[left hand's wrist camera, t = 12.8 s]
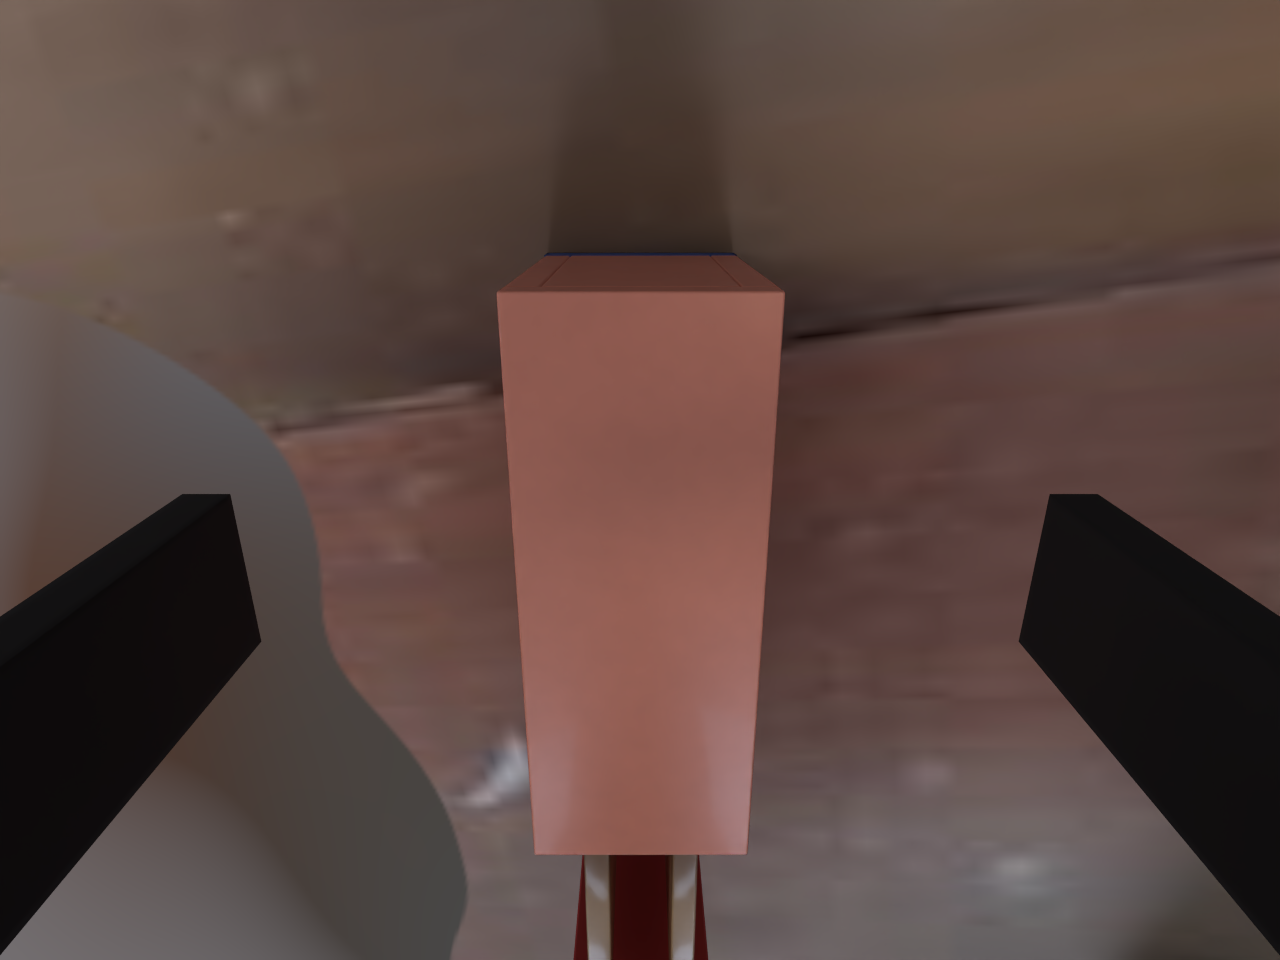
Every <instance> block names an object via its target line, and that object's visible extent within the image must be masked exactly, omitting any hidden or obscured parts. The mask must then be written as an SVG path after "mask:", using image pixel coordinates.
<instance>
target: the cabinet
mask: <svg viewBox="0 0 1280 960" xmlns="http://www.w3.org/2000/svg"><path fill="white" fill-rule="evenodd" d="M784 303H785V292H784V291H783V290H782V289H780V288H779V287H778V286H776V285H775V284H774V283H772V282H771V281H770V280H768V279H767V278H765V277H764V276H763V275H761V274H760V273H759V272H757V271H756V270H755V269H753V268H752V267H751V266H749V265H748V264H746V263H745V262H744V261H742V260H741V259H740V258H738V257H737V255H736V254H734V253H547V254H546V255H544V258H542V259H541V260H540V261H538V262H537V263H536V264H534V265H533V266H532V267H530V268H529V269H528V270H526V271H525V272H524V273H522V274H521V275H520V276H518V277H517V278H516V279H514V280H513V281H512V282H510V283H509V284H508V285H506V286H505V287H503V288H502V289H500V290H499V291H498V292H497V308H498V323H499V338H500V352H501V367H502V382H503V397H504V411H505V426H506V441H507V456H508V470H509V485H510V500H511V515H512V529H513V544H514V559H515V574H516V588H517V603H518V618H519V633H520V647H521V662H522V677H523V692H524V706H525V721H526V736H527V751H528V765H529V780H530V795H531V810H532V824H533V839H534V853H535V855H746V854H747V853H748V838H749V823H750V808H751V793H752V779H753V764H754V749H755V734H756V719H757V704H758V689H759V674H760V660H761V645H762V630H763V615H764V600H765V585H766V570H767V556H768V541H769V526H770V511H771V496H772V481H773V466H774V452H775V437H776V422H777V407H778V392H779V377H780V362H781V347H782V333H783V318H784Z"/></svg>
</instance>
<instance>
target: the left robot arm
mask: <svg viewBox="0 0 1280 960" xmlns="http://www.w3.org/2000/svg"><path fill="white" fill-rule="evenodd" d="M260 642H261V638H260V633H259V629H258V624H257V619H256V615H255V610H254V605H253V600H252V595H251V591H250V586H249V581H248V576H247V572H246V567H245V562H244V557H243V553H242V548H241V543H240V539H239V534H238V529H237V525H236V520H235V515H234V510H233V505H232V501H231V496H230V494H182V495H180V496H179V497H177V498H176V499H174V500H173V501H171V502H170V503H169V504H167V505H166V506H164V507H163V508H161V509H160V510H158V511H157V512H155V513H154V514H152V515H151V516H149V517H148V518H146V519H145V520H143V521H142V522H140V523H139V524H137V525H136V526H134V527H133V528H131V529H130V530H128V531H127V532H125V533H124V534H123V535H121V536H119V537H118V538H116V539H115V540H114V541H112V542H111V543H109V544H108V545H106V546H105V547H103V548H102V549H100V550H99V551H97V552H96V553H94V554H93V555H91V556H90V557H88V558H87V559H85V560H84V561H82V562H81V563H79V564H78V565H76V566H75V567H73V568H72V569H70V570H69V571H67V572H66V573H64V574H63V575H62V576H60V577H59V578H57V579H55V580H54V581H52V582H51V583H50V584H48V585H47V586H45V587H44V588H42V589H41V590H39V591H38V592H36V593H35V594H33V595H32V596H30V597H29V598H27V599H26V600H24V601H23V602H21V603H20V604H18V605H17V606H15V607H14V608H12V609H11V610H9V611H8V612H6V613H5V614H3V615H2V616H0V955H1V954H2V952H3V951H4V950H5V949H6V948H7V946H8V945H9V944H10V943H11V941H12V940H13V939H14V938H15V937H16V935H17V934H18V933H19V932H20V931H21V930H22V928H23V927H24V926H25V925H26V923H27V922H28V921H29V920H30V919H31V917H32V916H33V915H34V914H35V913H36V911H37V910H38V909H39V908H40V907H41V905H42V904H43V903H44V902H45V901H46V899H47V898H48V897H49V896H50V895H51V893H52V892H53V891H54V890H55V889H56V887H57V886H58V885H59V884H60V883H61V881H62V880H63V879H64V878H65V877H66V875H67V874H68V873H69V872H70V871H71V869H72V868H73V867H74V866H75V865H76V863H77V862H78V861H79V860H80V859H81V857H82V856H83V855H84V854H85V853H86V851H87V850H88V849H89V848H90V847H91V845H92V844H93V843H94V842H95V841H96V839H97V838H98V837H99V836H100V835H101V833H102V832H103V831H104V830H105V829H106V827H107V826H108V825H109V824H110V823H111V821H112V820H113V819H114V818H115V817H116V815H117V814H118V813H119V812H120V811H121V809H122V808H123V807H124V806H125V805H126V803H127V802H128V801H129V800H130V799H131V797H132V796H133V795H134V794H135V793H136V791H137V790H138V789H139V788H140V787H141V785H142V784H143V783H144V782H145V781H146V779H147V778H148V777H149V776H150V775H151V773H152V772H153V771H154V770H155V768H156V767H157V766H158V765H159V764H160V762H161V761H162V760H163V759H164V758H165V757H166V755H167V754H168V753H169V752H170V750H171V749H172V748H173V747H174V746H175V744H176V743H177V742H178V741H179V740H180V738H181V737H182V736H183V735H184V734H185V732H186V731H187V730H188V729H189V728H190V726H191V725H192V724H193V723H194V722H195V720H196V719H197V718H198V717H199V716H200V714H201V713H202V712H203V711H204V710H205V708H206V707H207V706H208V705H209V704H210V702H211V701H212V700H213V699H214V698H215V696H216V695H217V694H218V693H219V692H220V690H221V689H222V688H223V687H224V686H225V684H226V683H227V682H228V681H229V680H230V678H231V677H232V676H233V675H234V674H235V672H236V671H237V670H238V669H239V668H240V666H241V665H242V664H243V663H244V662H245V660H246V659H247V658H248V657H249V656H250V654H251V653H252V652H253V651H254V650H255V648H256V647H257V646H258V645H259V644H260ZM1019 642H1020V644H1021V645H1022V646H1023V647H1024V648H1025V650H1026V651H1027V652H1028V653H1029V654H1030V656H1031V657H1032V658H1033V659H1034V660H1035V662H1036V663H1037V664H1038V665H1039V666H1040V668H1041V669H1042V670H1043V671H1044V672H1045V674H1046V675H1047V676H1048V677H1049V678H1050V680H1051V681H1052V682H1053V683H1054V684H1055V686H1056V687H1057V688H1058V689H1059V690H1060V692H1061V693H1062V694H1063V695H1064V696H1065V698H1066V699H1067V700H1068V701H1069V702H1070V704H1071V705H1072V706H1073V707H1074V708H1075V710H1076V711H1077V712H1078V713H1079V714H1080V716H1081V717H1082V718H1083V719H1084V720H1085V722H1086V723H1087V724H1088V725H1089V726H1090V728H1091V729H1092V730H1093V731H1094V732H1095V734H1096V735H1097V736H1098V737H1099V739H1100V740H1101V741H1102V742H1103V743H1104V745H1105V746H1106V747H1107V748H1108V749H1109V751H1110V752H1111V753H1112V754H1113V755H1114V757H1115V758H1116V759H1117V760H1118V761H1119V763H1120V764H1121V765H1122V766H1123V767H1124V769H1125V770H1126V771H1127V772H1128V773H1129V775H1130V776H1131V777H1132V778H1133V779H1134V781H1135V782H1136V783H1137V784H1138V785H1139V787H1140V788H1141V789H1142V790H1143V791H1144V793H1145V794H1146V795H1147V796H1148V797H1149V799H1150V800H1151V801H1152V802H1153V803H1154V805H1155V806H1156V807H1157V808H1158V809H1159V811H1160V812H1161V813H1162V814H1163V815H1164V817H1165V818H1166V819H1167V820H1168V821H1169V823H1170V824H1171V825H1172V826H1173V827H1174V829H1175V830H1176V831H1177V832H1178V833H1179V835H1180V836H1181V837H1182V838H1183V839H1184V841H1185V842H1186V843H1187V844H1188V845H1189V847H1190V848H1191V849H1192V850H1193V851H1194V853H1195V854H1196V855H1197V856H1198V857H1199V859H1200V860H1201V861H1202V862H1203V863H1204V865H1205V866H1206V867H1207V868H1208V869H1209V871H1210V872H1211V873H1212V874H1213V875H1214V877H1215V878H1216V879H1217V880H1218V881H1219V883H1220V884H1221V885H1222V886H1223V887H1224V889H1225V890H1226V891H1227V892H1228V893H1229V895H1230V896H1231V897H1232V898H1233V899H1234V901H1235V902H1236V903H1237V904H1238V905H1239V907H1240V908H1241V909H1242V910H1243V911H1244V913H1245V914H1246V915H1247V916H1248V918H1249V919H1250V920H1251V921H1252V922H1253V924H1254V925H1255V926H1256V927H1257V928H1258V930H1259V931H1260V932H1261V933H1262V934H1263V936H1264V937H1265V938H1266V939H1267V940H1268V942H1269V943H1270V944H1271V945H1272V946H1273V948H1274V949H1275V950H1276V951H1277V952H1278V954H1279V955H1280V616H1278V615H1277V614H1275V613H1274V612H1272V611H1271V610H1269V609H1268V608H1266V607H1265V606H1263V605H1262V604H1260V603H1259V602H1257V601H1256V600H1254V599H1253V598H1251V597H1250V596H1248V595H1247V594H1245V593H1244V592H1242V591H1241V590H1239V589H1238V588H1236V587H1235V586H1233V585H1232V584H1230V583H1229V582H1227V581H1226V580H1225V579H1223V578H1222V577H1220V576H1219V575H1217V574H1216V573H1214V572H1213V571H1211V570H1210V569H1208V568H1207V567H1205V566H1204V565H1202V564H1201V563H1199V562H1198V561H1196V560H1195V559H1193V558H1192V557H1190V556H1189V555H1187V554H1186V553H1184V552H1183V551H1181V550H1180V549H1178V548H1177V547H1175V546H1174V545H1172V544H1171V543H1169V542H1168V541H1167V540H1165V539H1164V538H1162V537H1161V536H1159V535H1158V534H1156V533H1155V532H1153V531H1152V530H1150V529H1149V528H1147V527H1146V526H1144V525H1143V524H1141V523H1140V522H1138V521H1137V520H1135V519H1134V518H1132V517H1131V516H1129V515H1128V514H1126V513H1125V512H1123V511H1122V510H1120V509H1119V508H1117V507H1116V506H1114V505H1113V504H1111V503H1110V502H1109V501H1107V500H1106V499H1104V498H1103V497H1101V496H1100V495H1098V494H1050V496H1049V501H1048V505H1047V510H1046V515H1045V520H1044V524H1043V529H1042V534H1041V538H1040V543H1039V548H1038V553H1037V557H1036V562H1035V567H1034V572H1033V576H1032V581H1031V586H1030V591H1029V595H1028V600H1027V605H1026V610H1025V614H1024V619H1023V624H1022V629H1021V633H1020V638H1019Z"/></svg>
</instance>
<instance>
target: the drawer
mask: <svg viewBox="0 0 1280 960" xmlns="http://www.w3.org/2000/svg"><path fill="white" fill-rule="evenodd" d="M574 960H708V952H707V940H706V929H705V918H704V906H703V895H702V884H701V872H700V861H699V855H583V856H582V868H581V880H580V891H579V903H578V915H577V926H576V938H575V950H574Z"/></svg>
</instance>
